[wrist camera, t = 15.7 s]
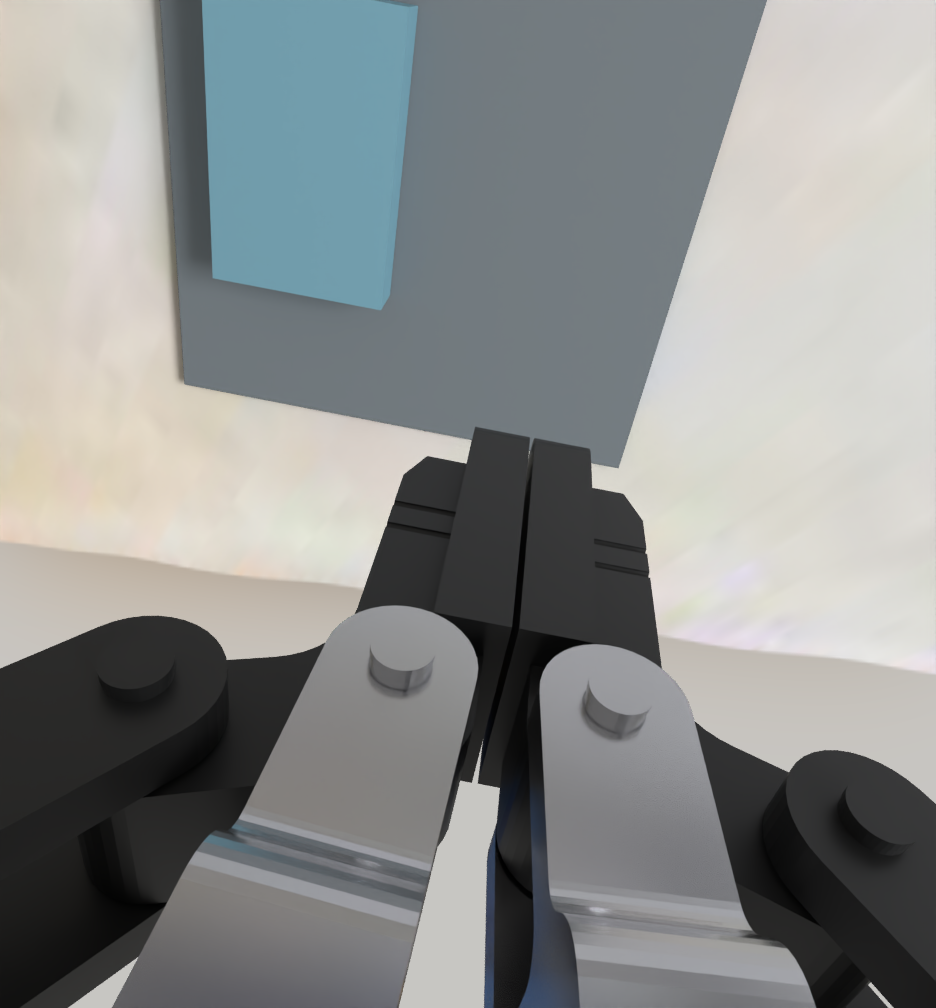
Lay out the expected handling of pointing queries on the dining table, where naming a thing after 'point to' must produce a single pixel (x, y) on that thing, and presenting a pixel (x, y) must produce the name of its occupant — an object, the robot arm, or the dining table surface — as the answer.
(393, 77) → the card box
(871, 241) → the dining table surface
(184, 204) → the mat
